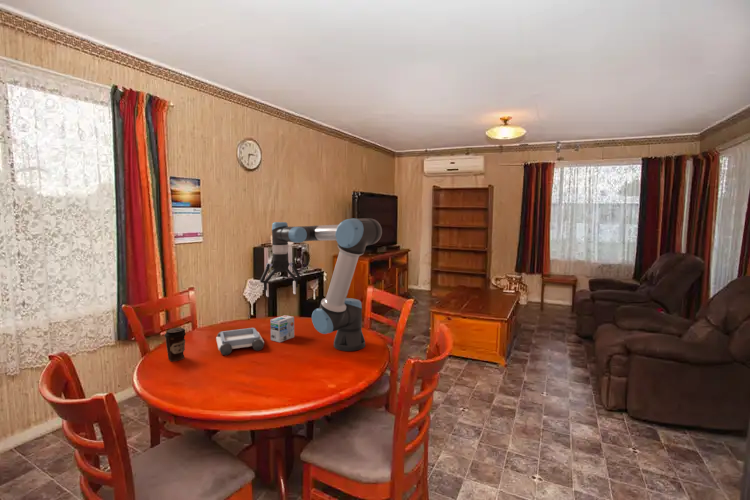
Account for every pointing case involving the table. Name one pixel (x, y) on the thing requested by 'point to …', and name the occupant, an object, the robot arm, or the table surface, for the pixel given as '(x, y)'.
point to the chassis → (239, 340)
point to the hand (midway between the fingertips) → (281, 295)
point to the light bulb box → (282, 328)
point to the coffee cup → (175, 343)
